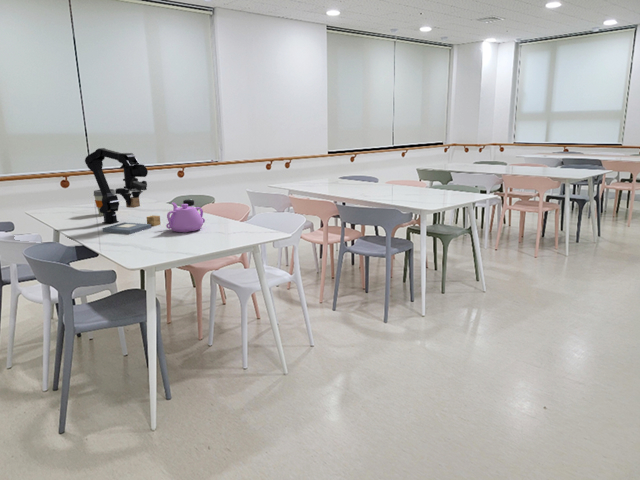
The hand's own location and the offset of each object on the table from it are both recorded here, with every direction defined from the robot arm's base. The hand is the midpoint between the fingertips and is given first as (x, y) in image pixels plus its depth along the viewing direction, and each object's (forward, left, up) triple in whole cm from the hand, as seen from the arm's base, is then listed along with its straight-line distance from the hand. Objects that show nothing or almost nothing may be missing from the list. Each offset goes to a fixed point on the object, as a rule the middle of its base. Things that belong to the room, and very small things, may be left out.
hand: (132, 204), depth 272 cm
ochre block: (+11, +2, -11) cm, 16 cm away
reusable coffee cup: (-42, +22, -11) cm, 49 cm away
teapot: (+35, -3, -11) cm, 37 cm away
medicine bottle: (+22, +20, -11) cm, 32 cm away
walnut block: (0, 0, -1) cm, 1 cm away
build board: (+6, -13, -11) cm, 18 cm away
